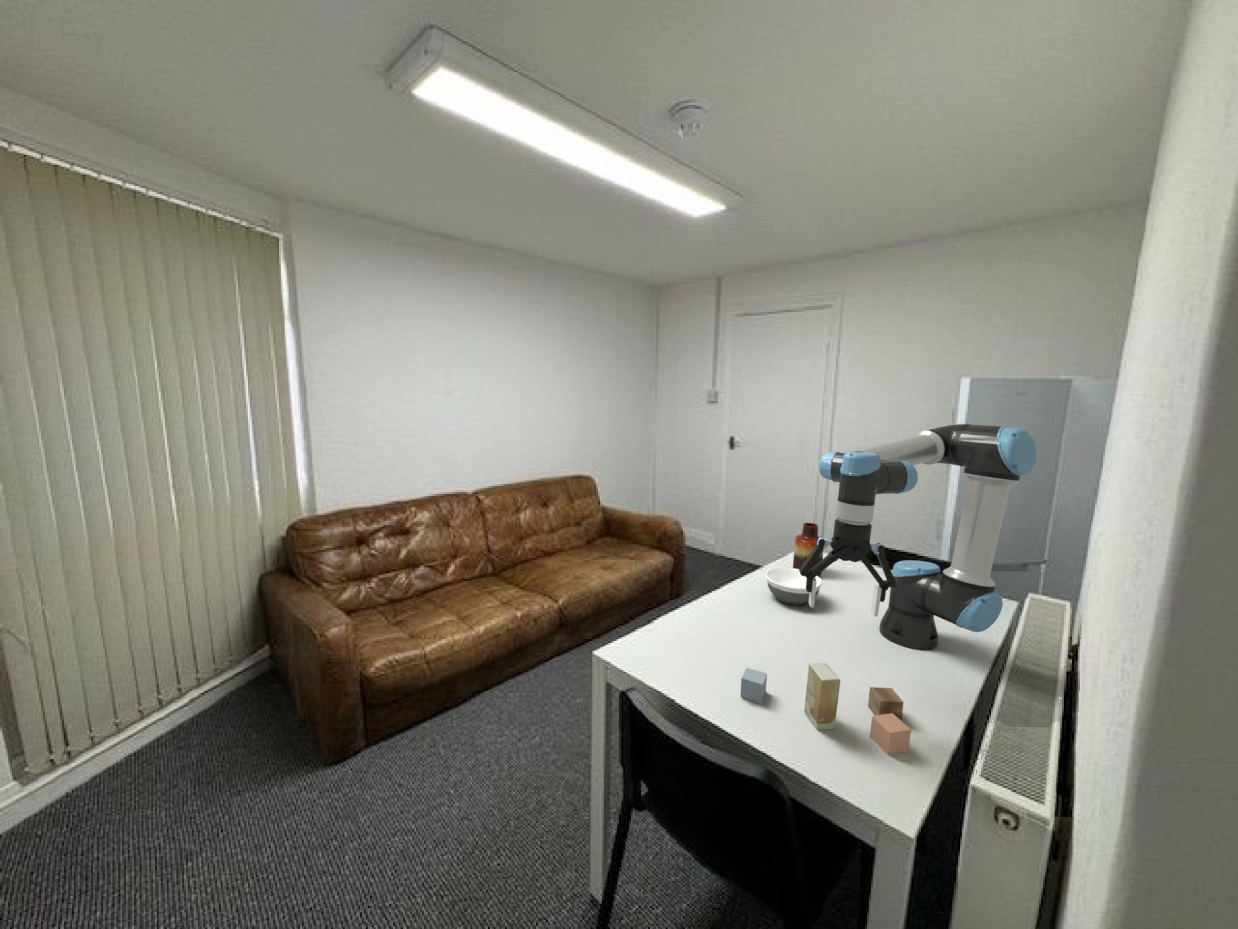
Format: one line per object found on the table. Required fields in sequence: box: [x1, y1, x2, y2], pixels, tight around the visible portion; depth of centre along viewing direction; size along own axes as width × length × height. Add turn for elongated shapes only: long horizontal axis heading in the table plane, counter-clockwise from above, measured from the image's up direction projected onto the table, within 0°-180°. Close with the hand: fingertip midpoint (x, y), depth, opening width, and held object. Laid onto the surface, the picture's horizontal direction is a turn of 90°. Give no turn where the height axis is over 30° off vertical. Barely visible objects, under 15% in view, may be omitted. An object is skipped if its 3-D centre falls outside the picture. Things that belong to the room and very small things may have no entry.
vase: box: [792, 522, 824, 578], centre depth 190 cm, size 11×11×20 cm
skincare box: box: [803, 662, 841, 731], centre depth 105 cm, size 6×4×12 cm
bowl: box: [765, 567, 823, 606], centre depth 167 cm, size 19×19×8 cm
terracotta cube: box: [869, 713, 912, 755], centre depth 99 cm, size 5×5×5 cm
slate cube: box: [740, 667, 768, 705], centre depth 115 cm, size 5×5×5 cm
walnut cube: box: [867, 686, 904, 721], centre depth 108 cm, size 5×5×5 cm
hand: (842, 609), depth 110 cm, fingers open, 13 cm apart
